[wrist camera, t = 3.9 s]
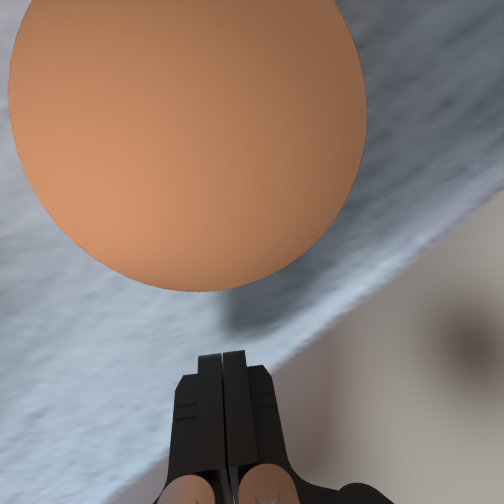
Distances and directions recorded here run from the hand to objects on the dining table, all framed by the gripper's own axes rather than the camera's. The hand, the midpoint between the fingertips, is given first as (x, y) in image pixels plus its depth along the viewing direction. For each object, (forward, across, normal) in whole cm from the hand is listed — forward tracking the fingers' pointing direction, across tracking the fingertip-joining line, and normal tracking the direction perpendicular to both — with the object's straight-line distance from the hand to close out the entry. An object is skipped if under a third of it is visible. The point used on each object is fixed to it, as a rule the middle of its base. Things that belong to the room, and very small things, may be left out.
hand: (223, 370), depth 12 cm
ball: (-2, 0, -8) cm, 8 cm away
